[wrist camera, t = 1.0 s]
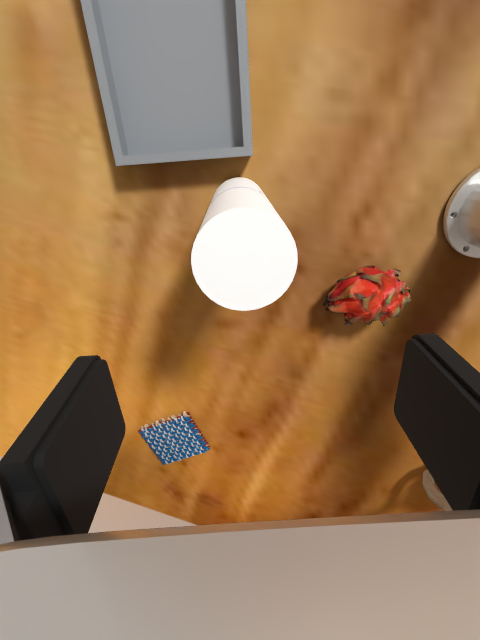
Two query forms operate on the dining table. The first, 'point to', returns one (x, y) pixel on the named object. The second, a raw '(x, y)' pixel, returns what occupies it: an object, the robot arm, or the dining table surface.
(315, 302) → the dining table surface
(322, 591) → the robot arm
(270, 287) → the cylindrical container
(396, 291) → the dragon fruit
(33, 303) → the dining table surface
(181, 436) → the woven mat
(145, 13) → the tray
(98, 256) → the dining table surface
